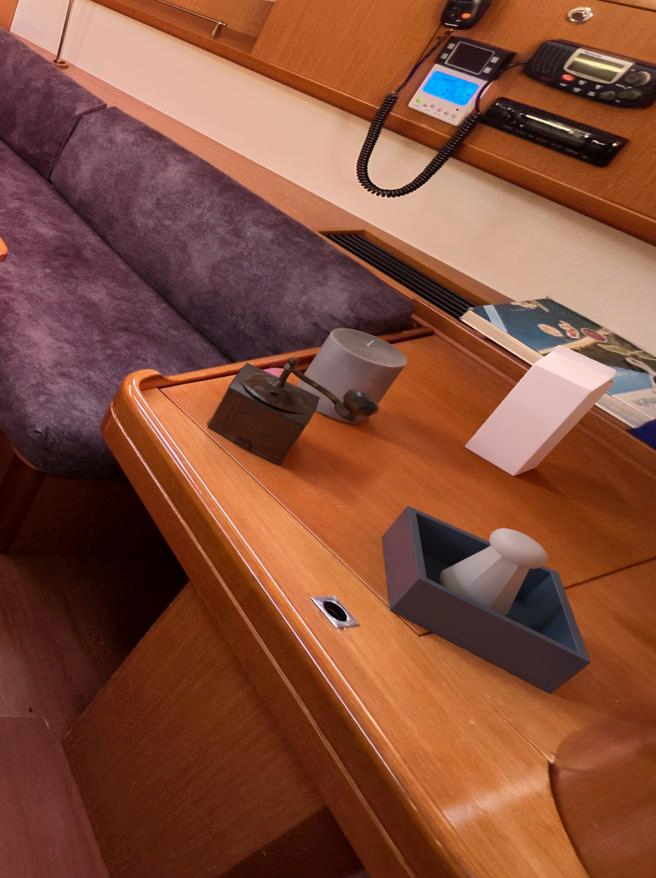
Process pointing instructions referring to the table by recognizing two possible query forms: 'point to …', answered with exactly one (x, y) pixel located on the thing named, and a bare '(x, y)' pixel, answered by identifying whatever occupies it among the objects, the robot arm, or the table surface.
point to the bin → (471, 624)
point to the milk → (541, 410)
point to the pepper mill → (277, 410)
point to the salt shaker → (496, 570)
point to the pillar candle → (353, 368)
